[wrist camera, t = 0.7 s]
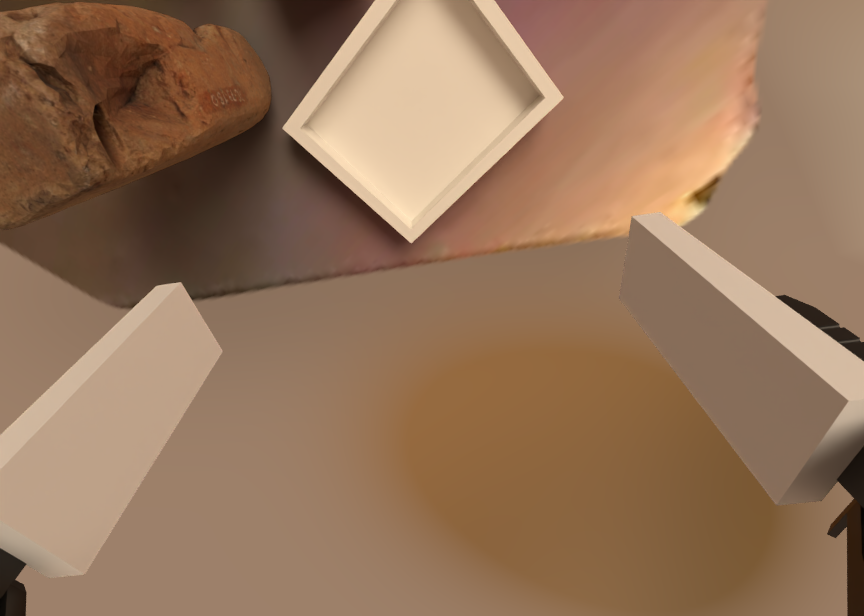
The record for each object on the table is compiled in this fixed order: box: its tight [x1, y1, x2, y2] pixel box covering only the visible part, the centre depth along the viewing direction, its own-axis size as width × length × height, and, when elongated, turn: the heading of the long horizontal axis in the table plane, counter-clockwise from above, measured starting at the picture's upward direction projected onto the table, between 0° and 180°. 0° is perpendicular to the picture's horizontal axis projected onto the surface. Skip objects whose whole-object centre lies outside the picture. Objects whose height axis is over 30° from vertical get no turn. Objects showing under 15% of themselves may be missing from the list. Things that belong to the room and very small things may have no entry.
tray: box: [282, 0, 564, 243], centre depth 32 cm, size 14×17×3 cm
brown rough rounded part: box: [0, 2, 271, 230], centre depth 24 cm, size 11×8×20 cm
